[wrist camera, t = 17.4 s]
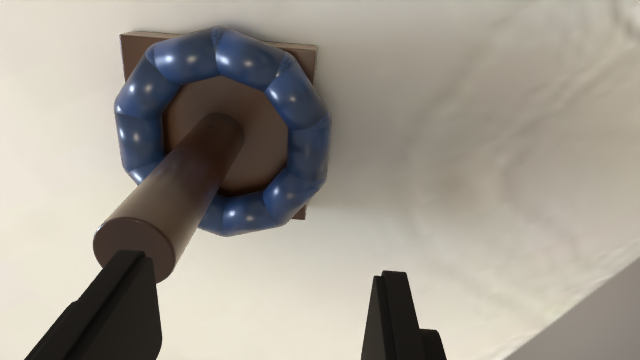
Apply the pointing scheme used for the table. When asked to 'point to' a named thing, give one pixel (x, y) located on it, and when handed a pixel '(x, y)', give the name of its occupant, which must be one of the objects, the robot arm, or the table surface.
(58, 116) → the table surface
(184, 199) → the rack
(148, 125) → the ring
